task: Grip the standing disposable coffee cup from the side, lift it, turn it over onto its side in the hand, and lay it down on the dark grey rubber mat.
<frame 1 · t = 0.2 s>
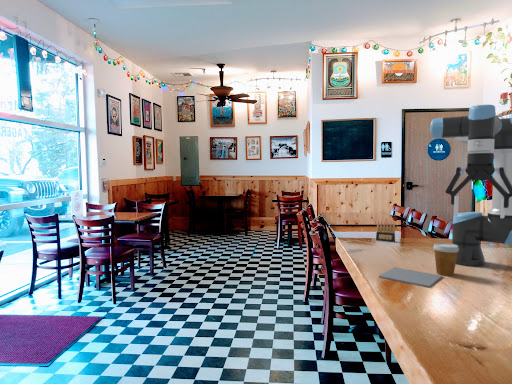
hand: (478, 216, 125), 27 cm above the table, tool pointing down, fingers open, 13 cm apart
ammunition clip: (385, 241, 220), on the table
disposable coffee cup: (444, 274, 153), on the table
mat: (410, 277, 148), on the table
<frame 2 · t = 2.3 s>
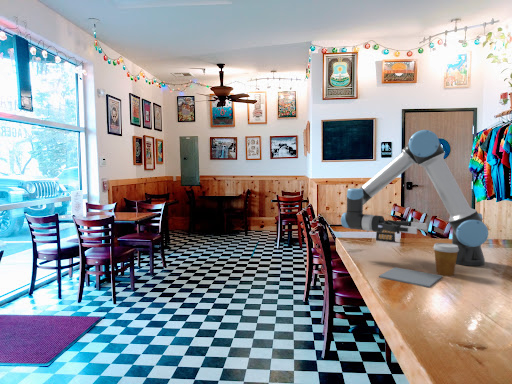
hand: (421, 228, 158), 18 cm above the table, tool horizontal, fingers open, 13 cm apart
nothing on the table moved.
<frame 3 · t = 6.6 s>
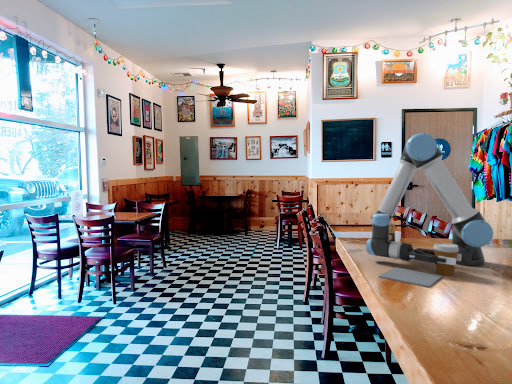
hand: (458, 259, 149), 7 cm above the table, tool horizontal, fingers closed on disposable coffee cup, 8 cm apart
disposable coffee cup: (444, 274, 153), on the table, touching gripper
everything else where it was.
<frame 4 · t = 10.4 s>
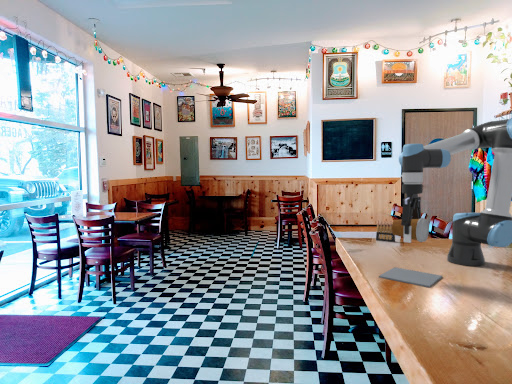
hand: (411, 240, 147), 15 cm above the table, tool pointing down, fingers closed on disposable coffee cup, 8 cm apart
disposable coffee cup: (394, 227, 152), point 19 cm above the table, touching gripper
everything else where it was.
when the fingers open (3 cm above the table, at t = 13.3 s): disposable coffee cup drops 4 cm, resting on mat.
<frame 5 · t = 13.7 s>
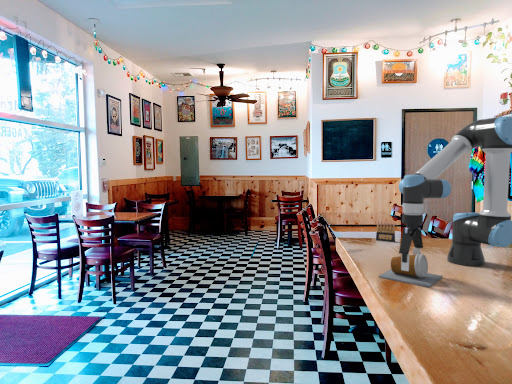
hand: (410, 267, 148), 4 cm above the table, tool pointing down, fingers open, 13 cm apart
disposable coffee cup: (393, 264, 152), point 4 cm above the table, touching mat
everything else where it was.
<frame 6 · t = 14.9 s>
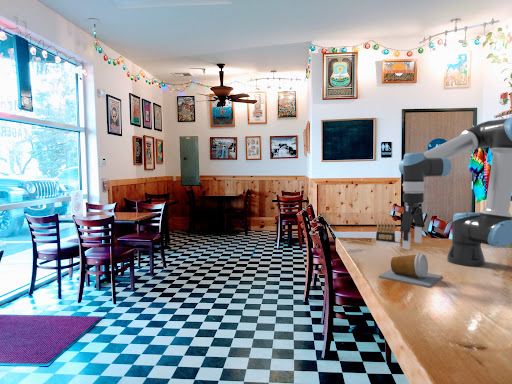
hand: (412, 245, 147), 13 cm above the table, tool pointing down, fingers open, 13 cm apart
nothing on the table moved.
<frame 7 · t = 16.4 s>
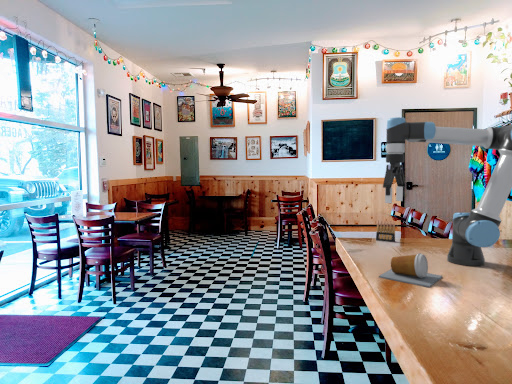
hand: (394, 202, 164), 28 cm above the table, tool pointing down, fingers open, 13 cm apart
nothing on the table moved.
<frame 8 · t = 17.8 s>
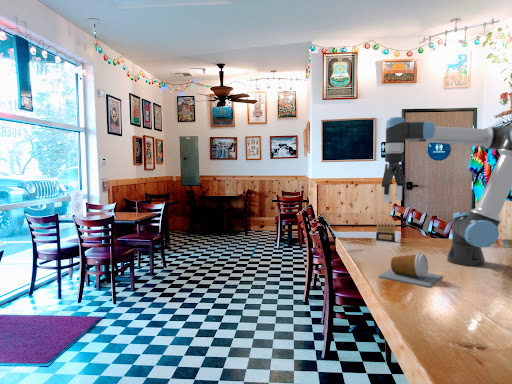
hand: (392, 201, 165), 29 cm above the table, tool pointing down, fingers open, 13 cm apart
nothing on the table moved.
at the end: disposable coffee cup tilted 82°; disposable coffee cup touching mat; disposable coffee cup 7.1 cm from the mat (horizontally) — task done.
